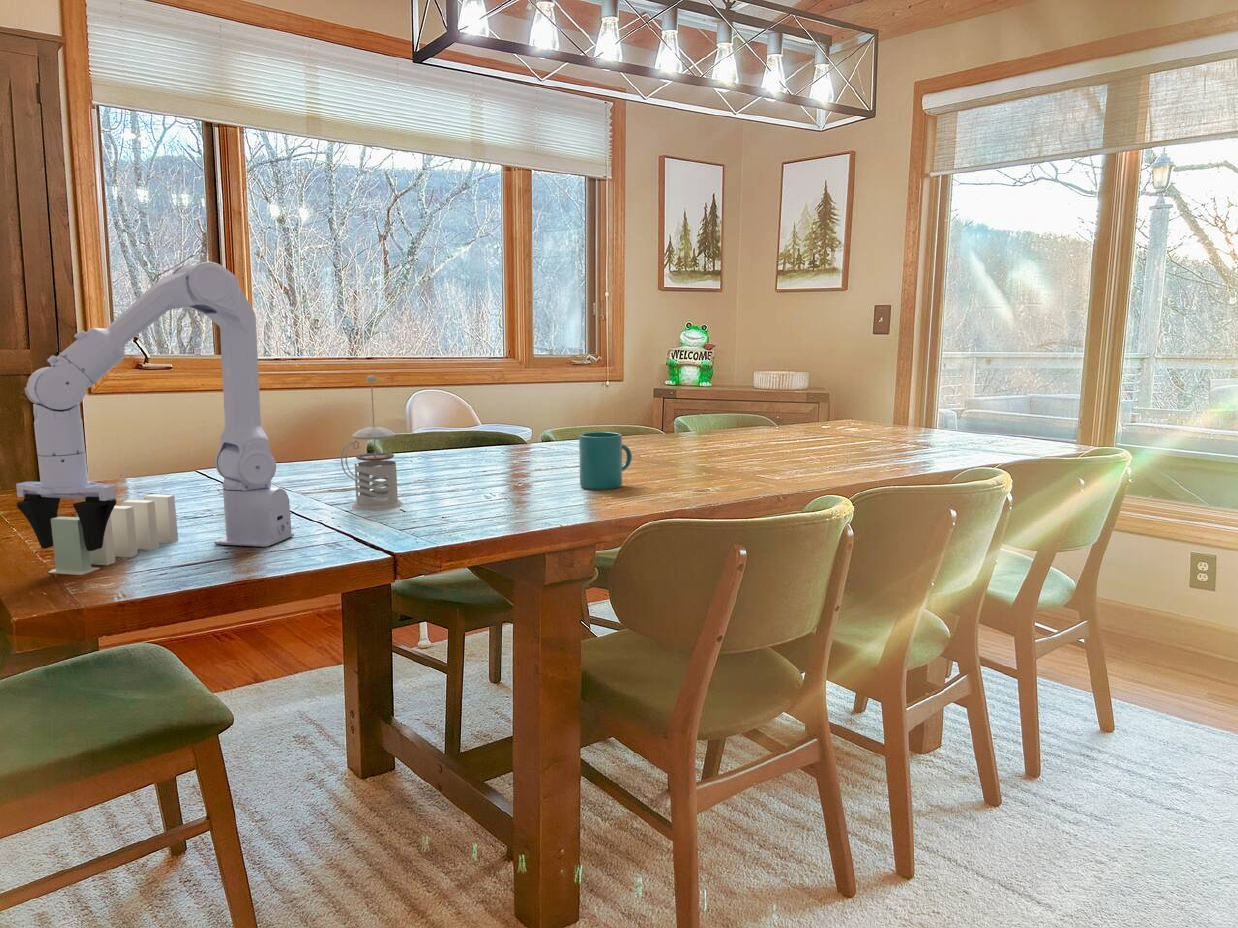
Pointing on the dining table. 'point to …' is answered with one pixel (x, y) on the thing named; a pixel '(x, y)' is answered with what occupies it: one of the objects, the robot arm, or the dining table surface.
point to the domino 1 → (69, 545)
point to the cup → (602, 460)
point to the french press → (374, 471)
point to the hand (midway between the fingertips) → (71, 548)
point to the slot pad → (74, 572)
